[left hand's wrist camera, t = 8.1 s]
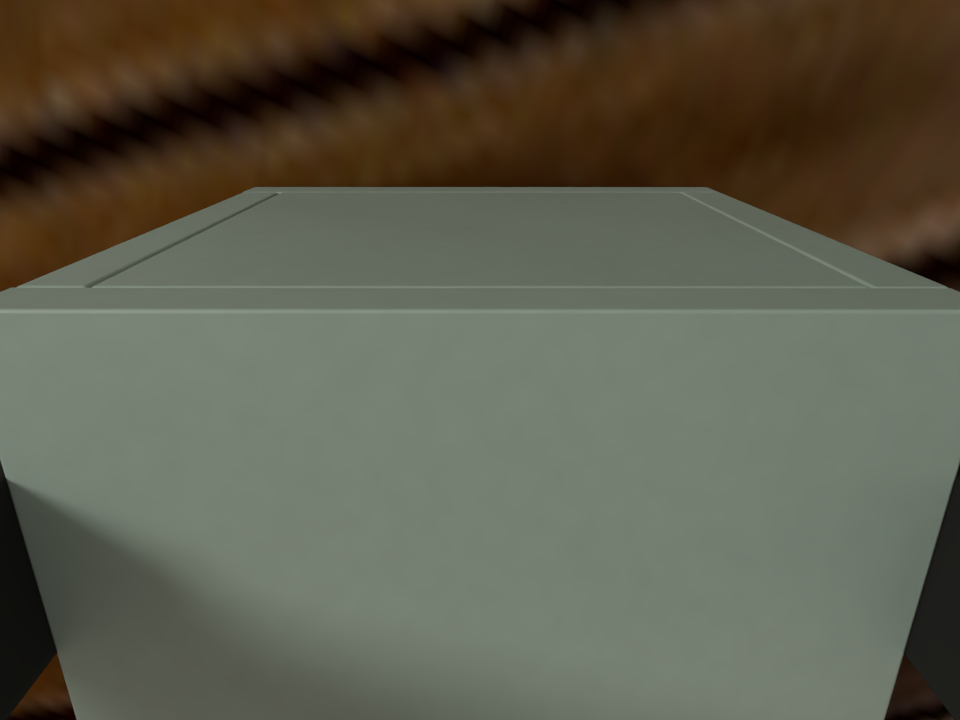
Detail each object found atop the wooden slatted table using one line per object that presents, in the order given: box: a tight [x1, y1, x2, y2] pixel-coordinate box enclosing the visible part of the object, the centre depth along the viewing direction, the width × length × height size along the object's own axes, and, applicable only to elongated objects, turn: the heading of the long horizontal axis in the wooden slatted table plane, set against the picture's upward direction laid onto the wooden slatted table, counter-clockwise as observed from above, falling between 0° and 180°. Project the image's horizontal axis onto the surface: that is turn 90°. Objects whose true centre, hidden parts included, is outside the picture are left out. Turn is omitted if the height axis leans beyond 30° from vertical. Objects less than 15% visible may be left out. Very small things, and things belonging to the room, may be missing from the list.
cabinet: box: [0, 187, 960, 720], centre depth 16 cm, size 21×11×10 cm, turn 0°
